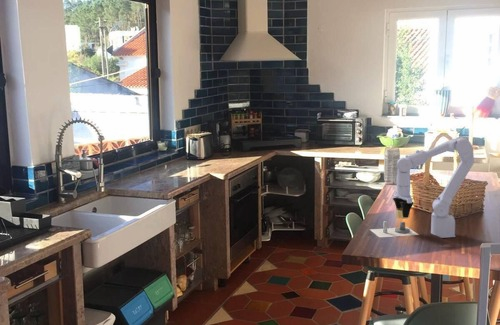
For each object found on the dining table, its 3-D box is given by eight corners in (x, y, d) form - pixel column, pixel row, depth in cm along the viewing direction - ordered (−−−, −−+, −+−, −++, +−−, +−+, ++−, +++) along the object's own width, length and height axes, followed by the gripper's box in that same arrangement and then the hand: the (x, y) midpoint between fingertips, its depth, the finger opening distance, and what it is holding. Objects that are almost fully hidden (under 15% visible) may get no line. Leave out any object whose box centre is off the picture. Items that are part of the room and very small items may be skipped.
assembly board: (407, 229, 255) (407, 216, 254) (418, 236, 243) (419, 223, 242) (369, 231, 252) (369, 218, 251) (379, 239, 241) (379, 226, 240)
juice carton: (398, 182, 355) (399, 144, 351) (399, 184, 347) (400, 146, 343) (383, 182, 357) (384, 144, 352) (384, 184, 349) (384, 146, 345)
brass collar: (405, 214, 250) (406, 207, 249) (411, 218, 245) (411, 210, 244) (394, 215, 249) (394, 208, 249) (399, 218, 244) (399, 211, 243)
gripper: (388, 182, 251) (387, 211, 253) (401, 189, 237) (400, 220, 239) (403, 181, 252) (402, 210, 254) (417, 188, 238) (416, 219, 240)
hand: (402, 215), depth 247 cm, fingers closed on brass collar, 5 cm apart
